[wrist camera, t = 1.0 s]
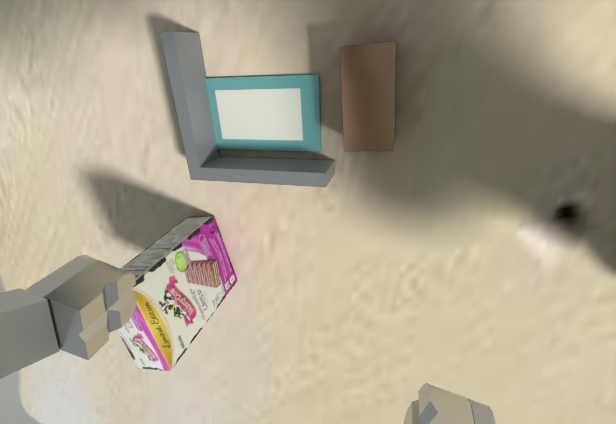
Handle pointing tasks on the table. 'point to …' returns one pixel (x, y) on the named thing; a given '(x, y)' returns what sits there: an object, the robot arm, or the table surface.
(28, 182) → the table surface
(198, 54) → the corner bracket
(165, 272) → the candy bar box
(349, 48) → the walnut block
